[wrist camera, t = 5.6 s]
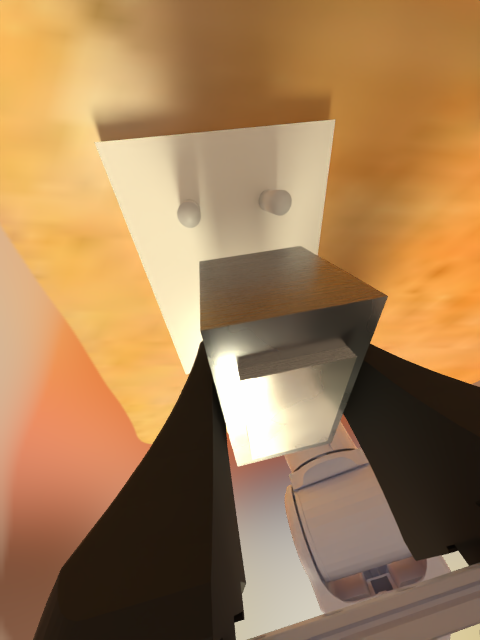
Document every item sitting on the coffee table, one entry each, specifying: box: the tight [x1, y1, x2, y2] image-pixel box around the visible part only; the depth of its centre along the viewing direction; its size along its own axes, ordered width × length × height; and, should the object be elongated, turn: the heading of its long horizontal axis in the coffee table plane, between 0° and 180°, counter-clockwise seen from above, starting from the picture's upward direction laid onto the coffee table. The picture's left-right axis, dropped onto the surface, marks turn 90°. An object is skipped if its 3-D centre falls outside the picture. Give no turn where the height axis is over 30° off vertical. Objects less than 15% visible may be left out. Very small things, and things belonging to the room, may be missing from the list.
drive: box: [199, 246, 388, 466], centre depth 9 cm, size 8×5×5 cm, turn 5°
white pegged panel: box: [95, 119, 335, 374], centre depth 15 cm, size 18×13×4 cm
